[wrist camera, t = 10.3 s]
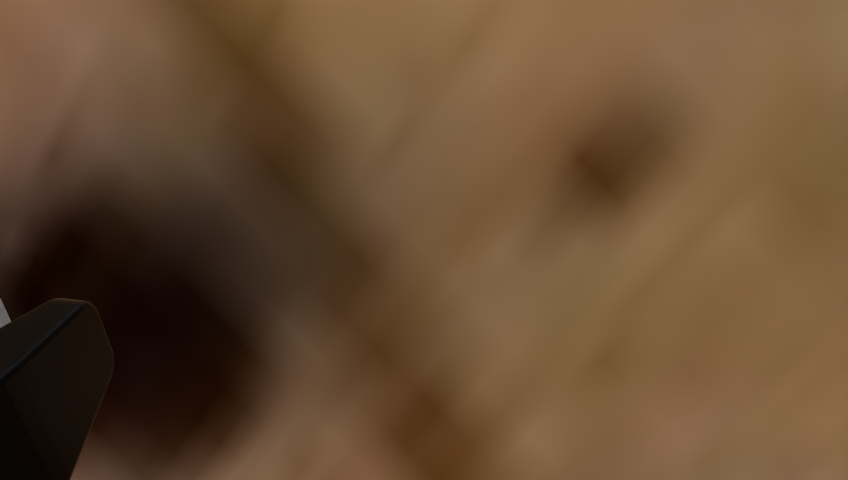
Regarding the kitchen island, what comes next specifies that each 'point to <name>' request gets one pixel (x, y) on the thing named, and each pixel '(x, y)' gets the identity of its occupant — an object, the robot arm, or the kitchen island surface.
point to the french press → (3, 315)
